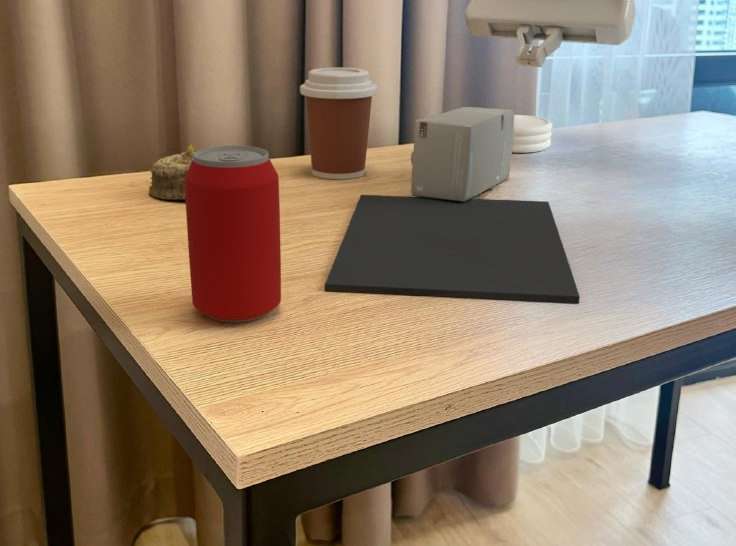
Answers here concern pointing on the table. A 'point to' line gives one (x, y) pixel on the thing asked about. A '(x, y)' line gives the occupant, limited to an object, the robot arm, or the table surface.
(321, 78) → the coffee cup
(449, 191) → the cosmetic box
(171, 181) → the cake
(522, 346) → the table surface
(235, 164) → the beverage can
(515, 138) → the white round stack
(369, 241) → the mat
